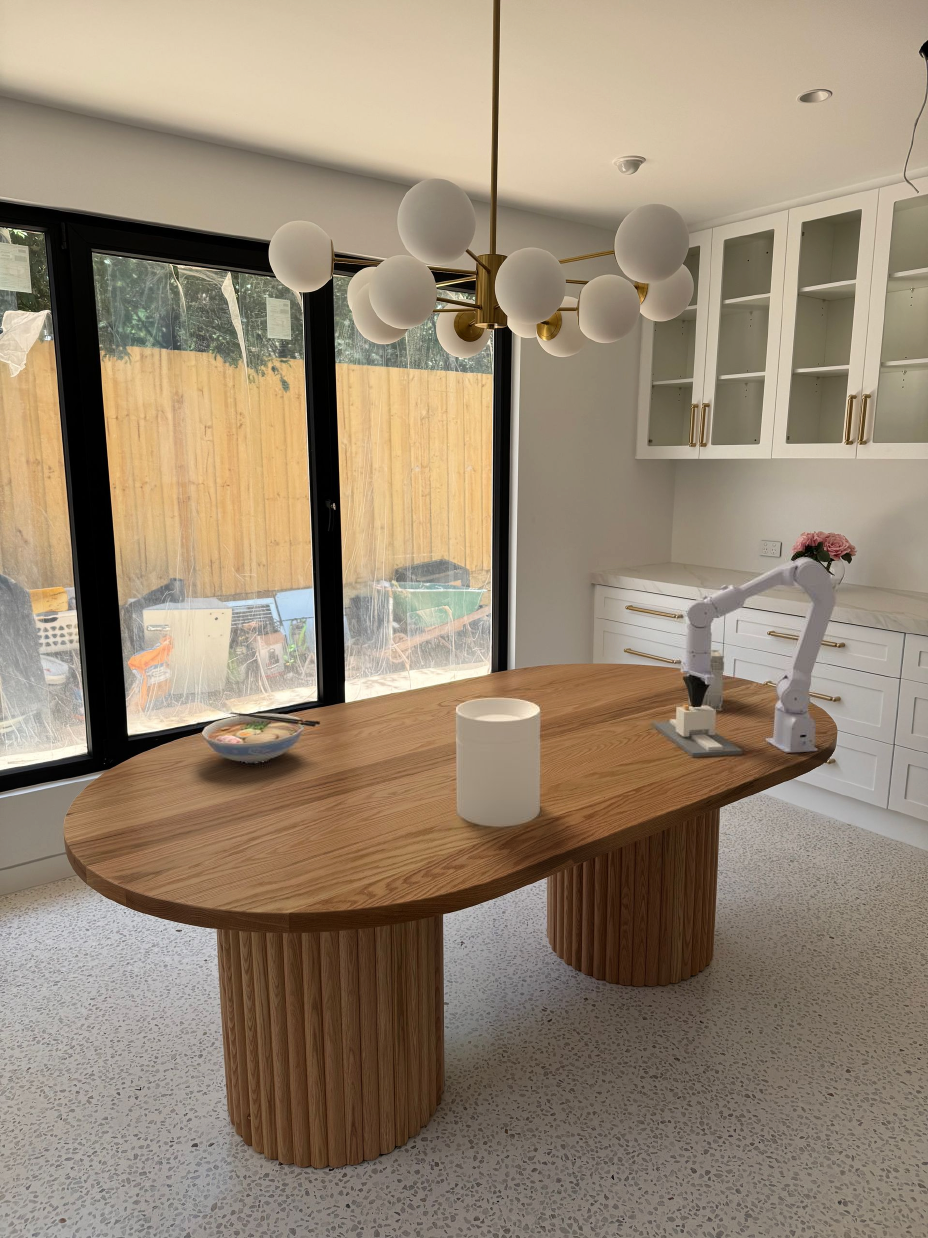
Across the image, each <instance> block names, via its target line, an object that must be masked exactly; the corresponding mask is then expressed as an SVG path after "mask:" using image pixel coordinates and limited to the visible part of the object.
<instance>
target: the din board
mask: <svg viewBox="0 0 928 1238" xmlns="http://www.w3.org/2000/svg"><path fill="white" fill-rule="evenodd" d="M651 726H652V727H653V728H654V729H655V730H657V731H658V732H659V733H661V734H662V735H663V736H664V737H666V738H667V739H668V740H669V741H671V742H672V743H673V744H675V745H676V746H677V747H679V749H681V750H682V751H684V752H685V753H686V754H688V755H689V756H690V757H691V758H704V757H718V756H719V757H720V756H721V757H722V756H734V755H735V756H736V755H737V756H738V755H743V750H742V749H741V748H740V747H738V746H737V745H735V744H733V742H731V741H729V740H728V739H727V738H725V737H724V736H722V735H721V734H719V733H718V732H716V731H715V735H708V734H707V733H705V732H704V731H703V732H702V733H698V734H693V733H691V732H690V731H689V736H686V737H683V736H682V735H680V734H679V733H678V732H676V718H672V719H669V721H666V720H665V721H652V725H651Z"/></svg>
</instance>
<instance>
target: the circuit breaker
mask: <svg viewBox="0 0 928 1238" xmlns="http://www.w3.org/2000/svg"><path fill="white" fill-rule="evenodd" d="M724 658H725V655H724V654H723V653H722V652H721V651H720V650H719V649H711V661H710V669H711V671H712V674H713V675H714V676H715V684H710V686H709V687H708V689H707V691H706V693H705V696H704V699H703V703H702V706H707V705H708V706H709V707H711V708H713V709H714V710H716V711H723V708H722V705H723V700H724V699H723V696H724V694H723V693H724V692H723V683H724V682H723V681H724V679H723V678H724V677H723V676H724V672H725V660H724ZM688 675H689V674H687V673H686V676H688ZM688 703H689V706H691V704H690V699H689V698H688Z"/></svg>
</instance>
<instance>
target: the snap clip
mask: <svg viewBox="0 0 928 1238" xmlns="http://www.w3.org/2000/svg"><path fill="white" fill-rule="evenodd" d="M689 731H690V732H691V733H693V734H698V733H702V732H703V729H702V730H689Z"/></svg>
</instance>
